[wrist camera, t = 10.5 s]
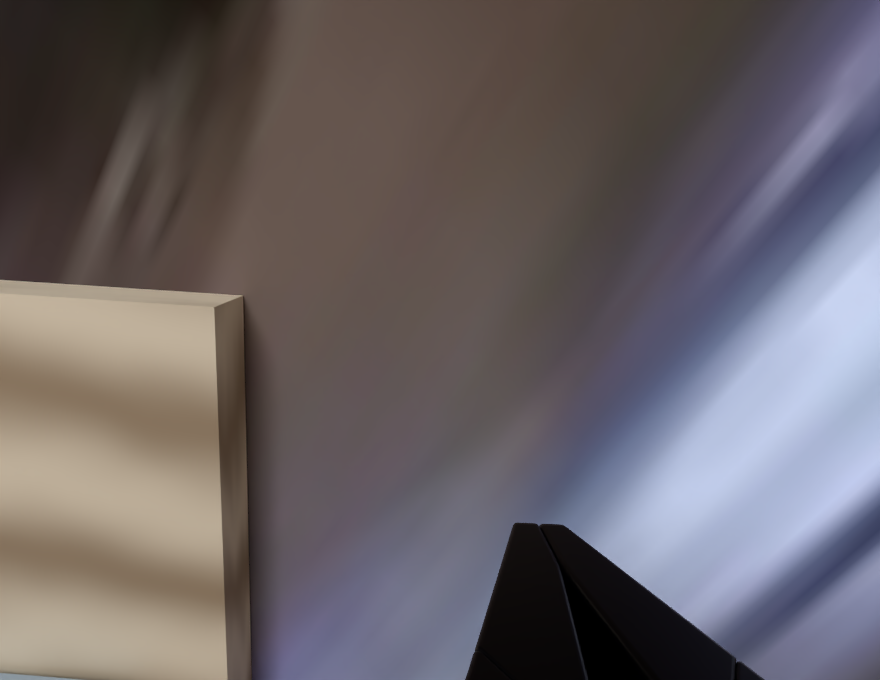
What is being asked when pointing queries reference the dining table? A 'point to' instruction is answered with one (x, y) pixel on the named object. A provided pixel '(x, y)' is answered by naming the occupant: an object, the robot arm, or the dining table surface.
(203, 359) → the stool seat
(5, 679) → the hinged leg
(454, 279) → the dining table surface
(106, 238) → the dining table surface
